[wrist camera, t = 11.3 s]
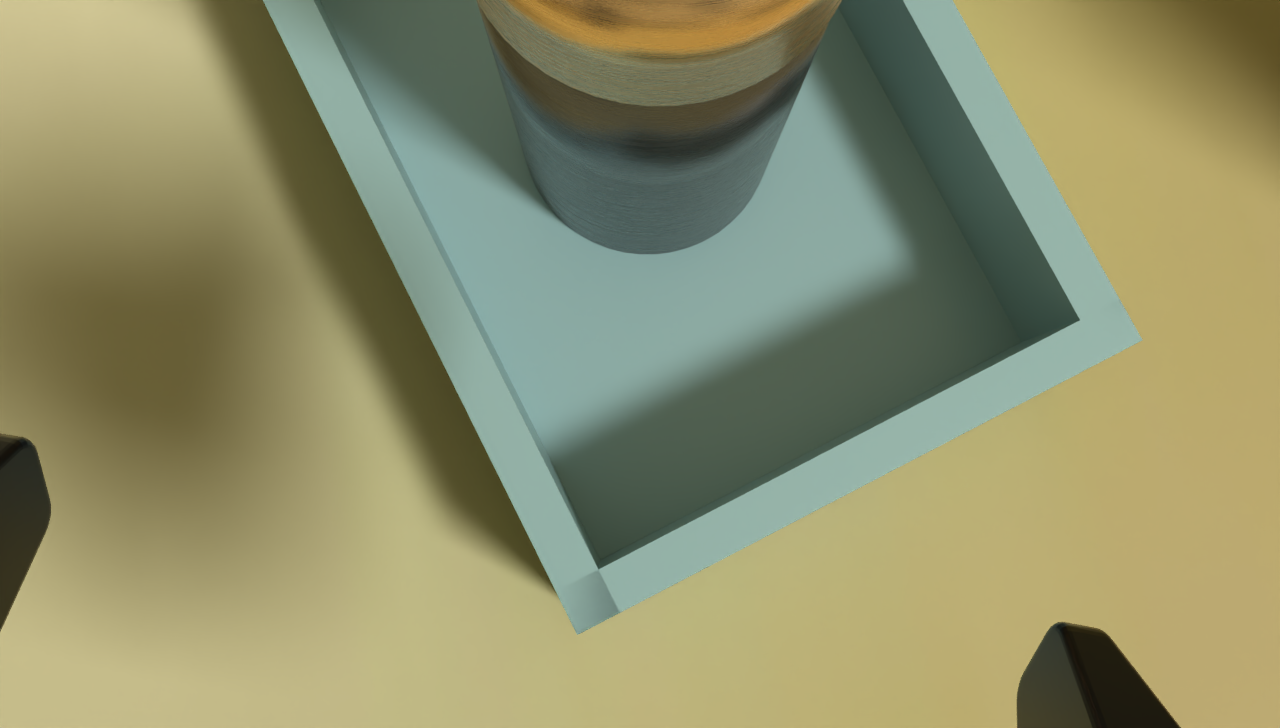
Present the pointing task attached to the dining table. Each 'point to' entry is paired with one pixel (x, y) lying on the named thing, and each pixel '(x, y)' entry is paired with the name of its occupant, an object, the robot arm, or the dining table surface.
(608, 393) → the tray
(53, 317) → the dining table surface
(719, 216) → the cylinder
